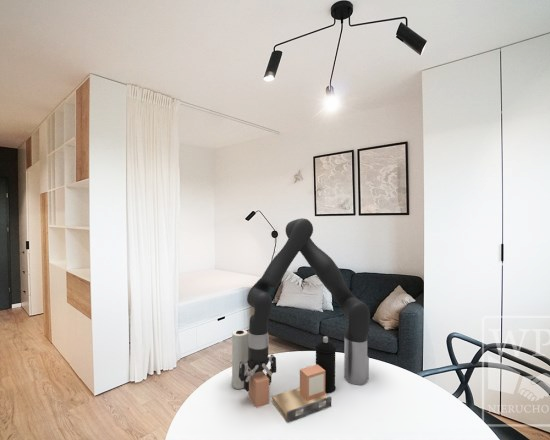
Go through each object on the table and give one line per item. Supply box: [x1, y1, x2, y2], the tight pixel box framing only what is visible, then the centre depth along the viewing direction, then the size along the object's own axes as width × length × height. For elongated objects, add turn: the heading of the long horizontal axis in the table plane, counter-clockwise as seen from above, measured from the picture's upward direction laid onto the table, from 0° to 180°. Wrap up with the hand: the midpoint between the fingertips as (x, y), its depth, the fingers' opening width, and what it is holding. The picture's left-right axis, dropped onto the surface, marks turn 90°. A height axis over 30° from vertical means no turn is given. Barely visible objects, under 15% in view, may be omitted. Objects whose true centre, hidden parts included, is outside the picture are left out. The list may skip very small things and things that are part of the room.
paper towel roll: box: [231, 329, 251, 390], centre depth 110 cm, size 7×6×21 cm
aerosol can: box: [315, 335, 337, 394], centre depth 109 cm, size 8×8×20 cm
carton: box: [247, 370, 270, 409], centre depth 102 cm, size 8×5×9 cm, turn 27°
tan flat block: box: [271, 387, 332, 423], centre depth 99 cm, size 18×12×3 cm, turn 117°
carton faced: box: [299, 364, 326, 401], centre depth 102 cm, size 8×5×9 cm, turn 117°
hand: (257, 387), depth 102 cm, fingers open, 8 cm apart
